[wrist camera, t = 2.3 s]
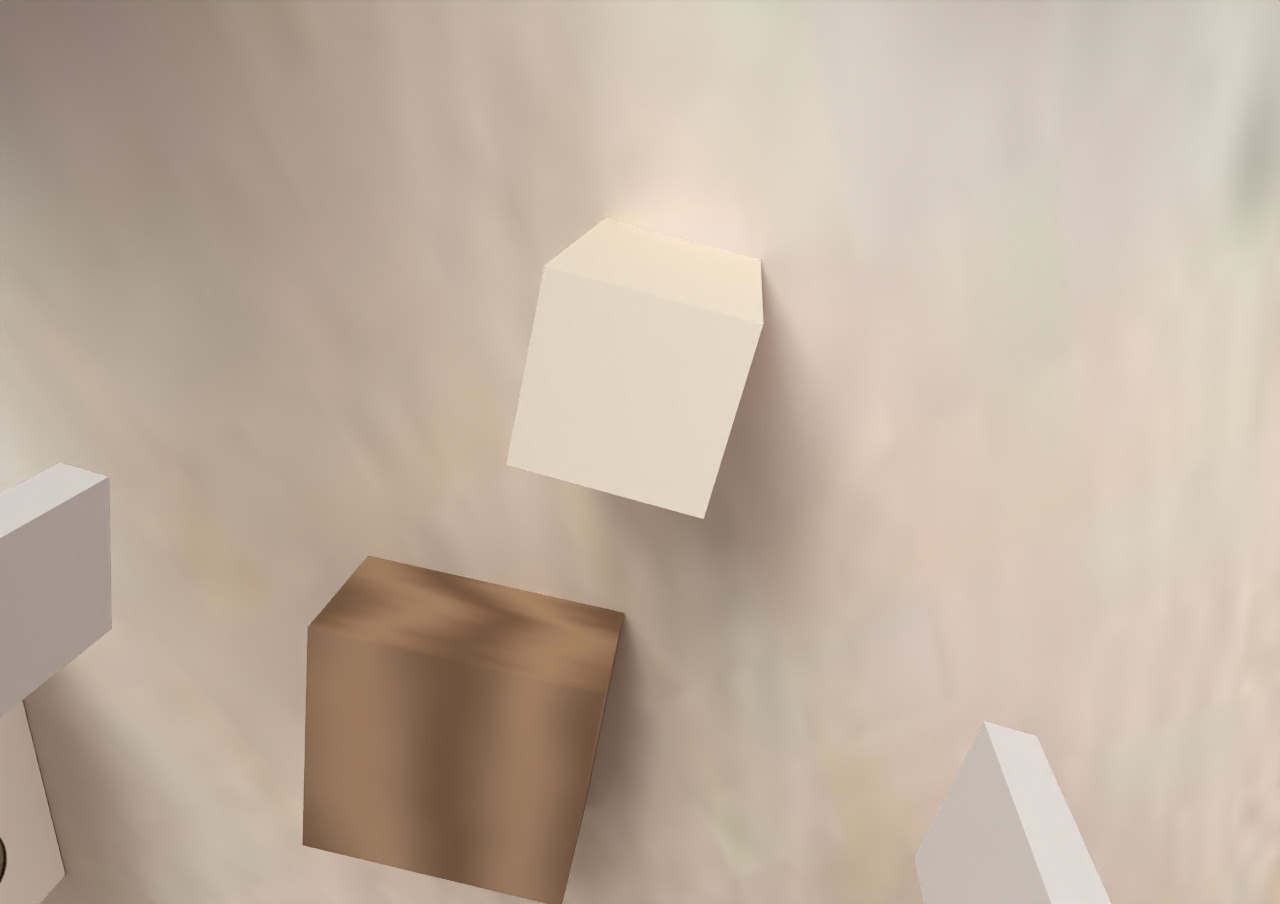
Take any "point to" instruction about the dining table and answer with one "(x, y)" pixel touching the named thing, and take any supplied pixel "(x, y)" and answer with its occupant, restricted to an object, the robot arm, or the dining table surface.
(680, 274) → the cream block
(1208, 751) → the dining table surface
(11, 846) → the gable box
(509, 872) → the walnut block
